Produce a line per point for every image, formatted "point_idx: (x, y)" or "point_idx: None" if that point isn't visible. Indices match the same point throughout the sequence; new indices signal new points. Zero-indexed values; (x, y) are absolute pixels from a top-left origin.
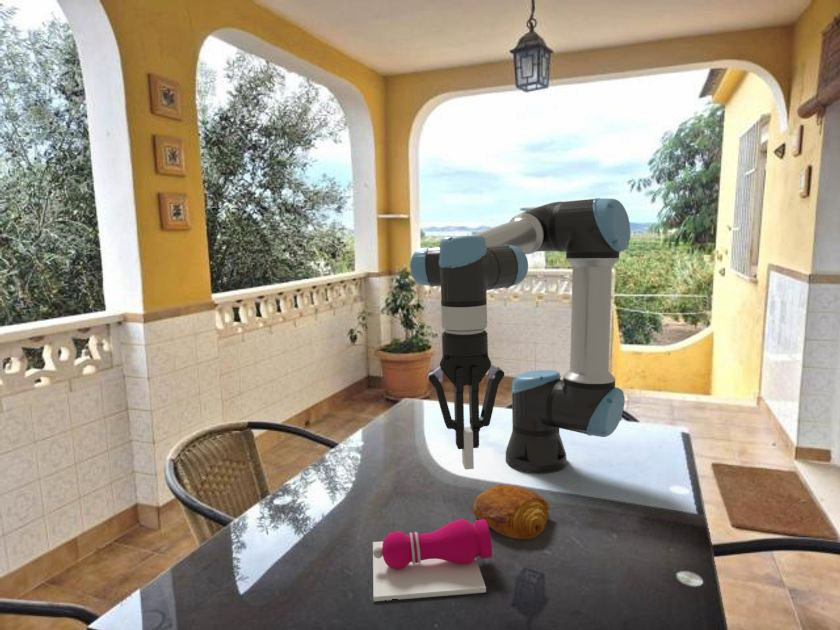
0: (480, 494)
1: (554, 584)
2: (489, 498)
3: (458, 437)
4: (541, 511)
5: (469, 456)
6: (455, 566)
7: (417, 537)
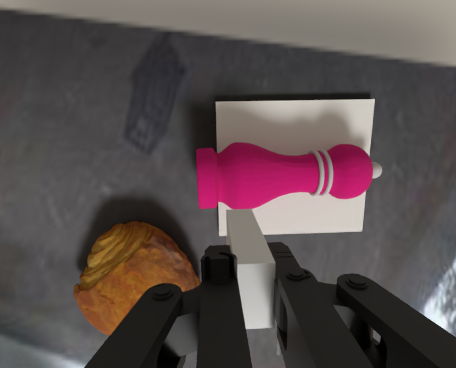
0: None
1: (113, 109)
2: None
3: (290, 264)
4: (89, 261)
5: (241, 221)
6: None
7: (321, 169)
